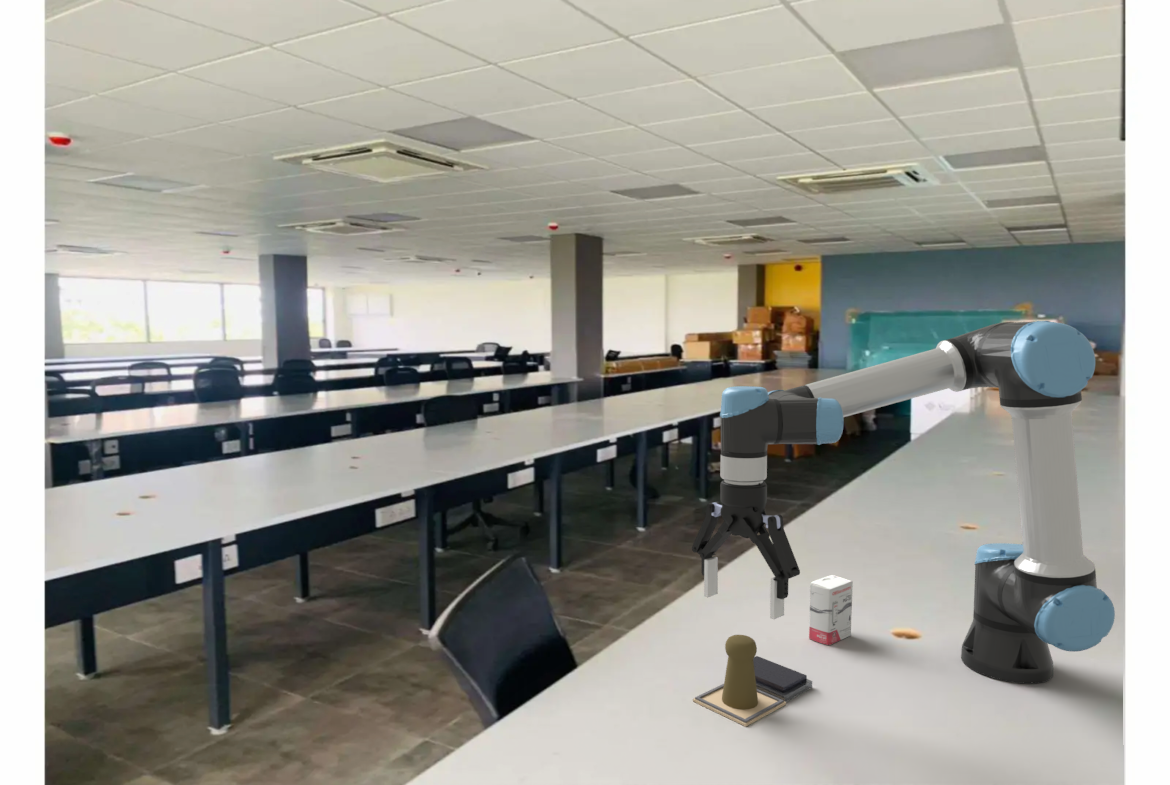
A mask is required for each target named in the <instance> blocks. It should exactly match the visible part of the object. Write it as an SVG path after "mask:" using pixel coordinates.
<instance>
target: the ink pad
mask: <svg viewBox="0 0 1170 785" xmlns="http://www.w3.org/2000/svg"><path fill="white" fill-rule="evenodd" d="M753 662H754V671H755V680H756V688H757V689H759V690H761V691H763V692H766V693H768V694H770V695H773V696H775V697H777V698H780V699H782V700H784V702H786V703H787V702H788V701H790V700H792V699H794V698H795V697H798V696H799V695H801V694H804V693H805V692H807V691H809V690H810V689H812V688H813V680H810V679H809V678H807V674H805V673H801V672H799V671H796V670H795V669H792V668H788V667H786V666H784V665H781V664H779V663H776V662H774V661H771V660H768V659H765V658H763V657H761V656H758V655H755V657H754V658H753Z"/></svg>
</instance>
